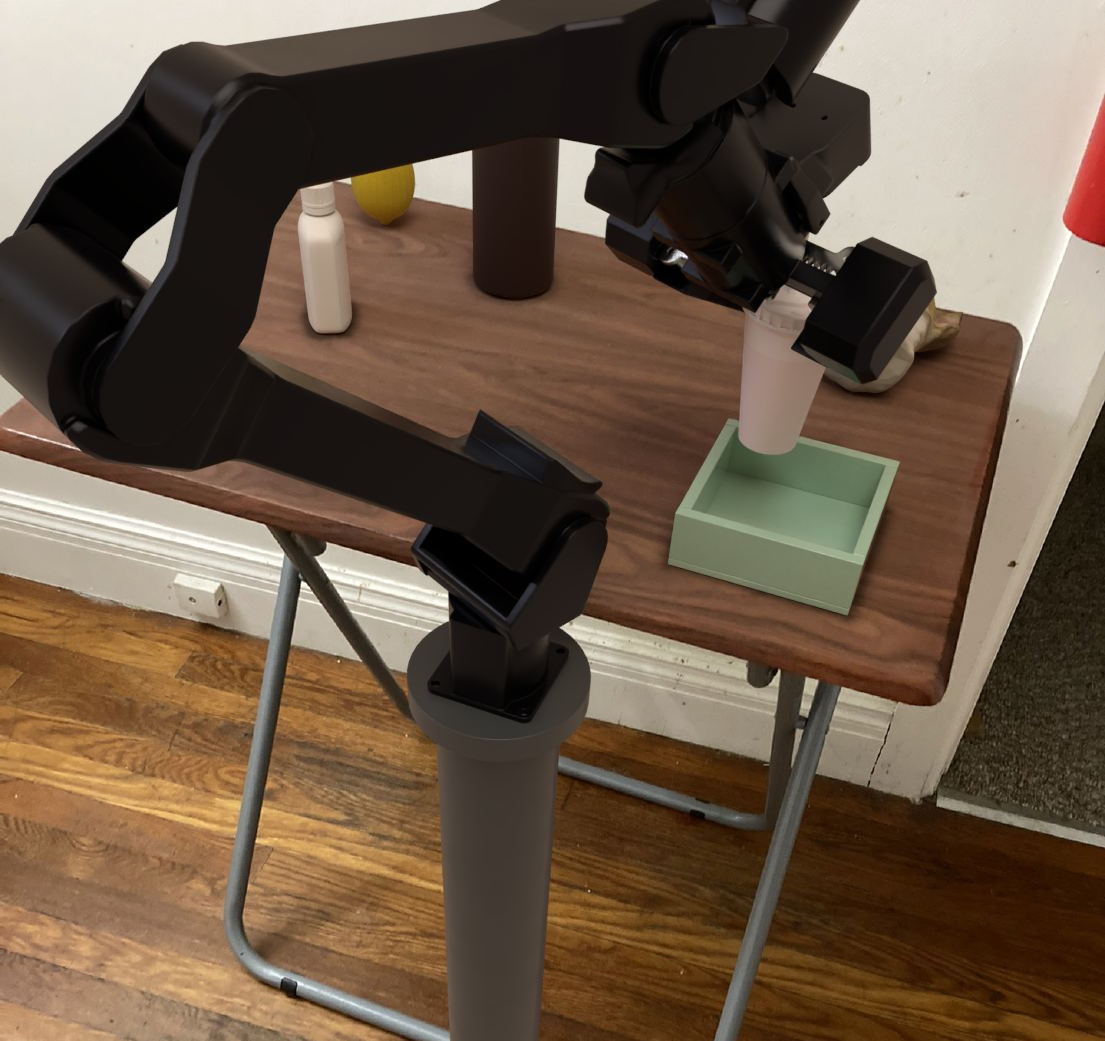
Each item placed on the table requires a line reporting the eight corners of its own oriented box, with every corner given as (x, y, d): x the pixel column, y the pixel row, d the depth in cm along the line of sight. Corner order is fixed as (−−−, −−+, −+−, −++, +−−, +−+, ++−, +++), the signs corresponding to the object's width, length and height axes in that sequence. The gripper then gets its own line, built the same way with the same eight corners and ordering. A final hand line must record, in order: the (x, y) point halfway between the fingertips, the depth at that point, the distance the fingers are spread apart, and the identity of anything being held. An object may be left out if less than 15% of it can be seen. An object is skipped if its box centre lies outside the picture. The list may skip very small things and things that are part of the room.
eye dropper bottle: (371, 308, 94) (359, 153, 85) (337, 340, 90) (321, 182, 81) (324, 297, 95) (307, 142, 86) (288, 328, 91) (266, 170, 82)
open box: (847, 616, 71) (863, 564, 68) (667, 564, 74) (675, 512, 71) (884, 511, 78) (900, 461, 75) (719, 468, 81) (728, 417, 78)
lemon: (382, 205, 107) (377, 112, 101) (429, 223, 105) (426, 129, 99) (341, 225, 104) (333, 130, 98) (388, 244, 102) (382, 148, 96)
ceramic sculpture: (799, 270, 82) (862, 208, 92) (773, 383, 88) (835, 313, 98) (946, 312, 79) (995, 243, 89) (908, 426, 85) (958, 349, 95)
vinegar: (480, 257, 100) (479, -8, 86) (558, 266, 100) (571, 0, 85) (465, 295, 96) (462, 21, 81) (547, 304, 95) (558, 30, 81)
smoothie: (697, 425, 75) (734, 203, 64) (776, 402, 77) (823, 185, 67) (757, 477, 71) (806, 251, 61) (838, 451, 73) (898, 230, 63)
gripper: (978, 89, 50) (1023, 268, 64) (664, -20, 59) (763, 158, 73) (825, 315, 52) (901, 442, 66) (543, 177, 61) (661, 314, 75)
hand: (804, 329), depth 70 cm, fingers closed on smoothie, 6 cm apart
